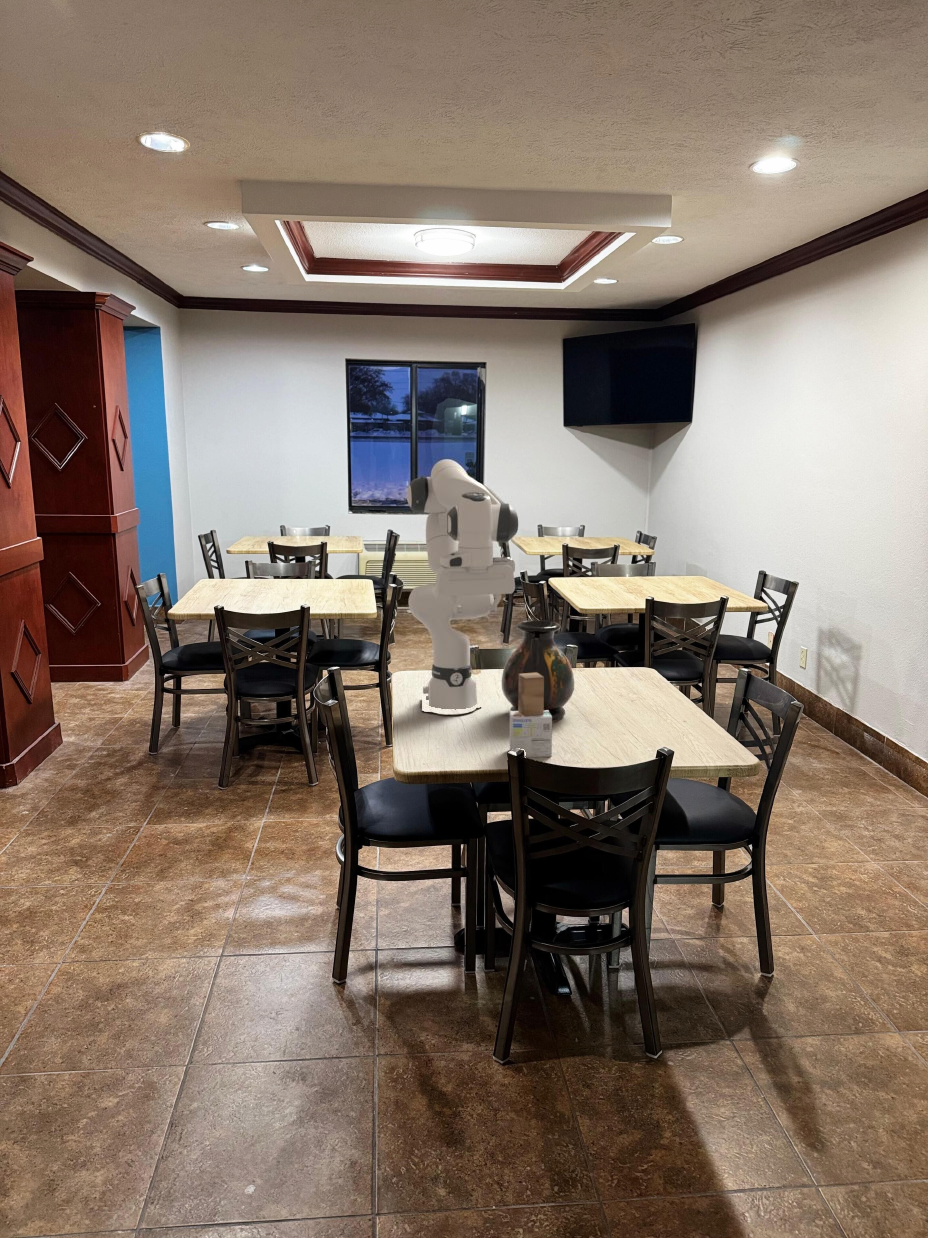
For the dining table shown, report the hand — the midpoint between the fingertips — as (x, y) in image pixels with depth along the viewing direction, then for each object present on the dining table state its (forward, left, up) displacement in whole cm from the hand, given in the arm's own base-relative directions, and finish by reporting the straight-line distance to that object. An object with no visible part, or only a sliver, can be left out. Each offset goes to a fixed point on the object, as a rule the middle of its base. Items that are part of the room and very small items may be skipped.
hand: (475, 612), depth 215 cm
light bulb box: (+6, +13, -37) cm, 40 cm away
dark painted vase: (-25, +26, -37) cm, 52 cm away
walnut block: (+6, +13, -26) cm, 30 cm away
